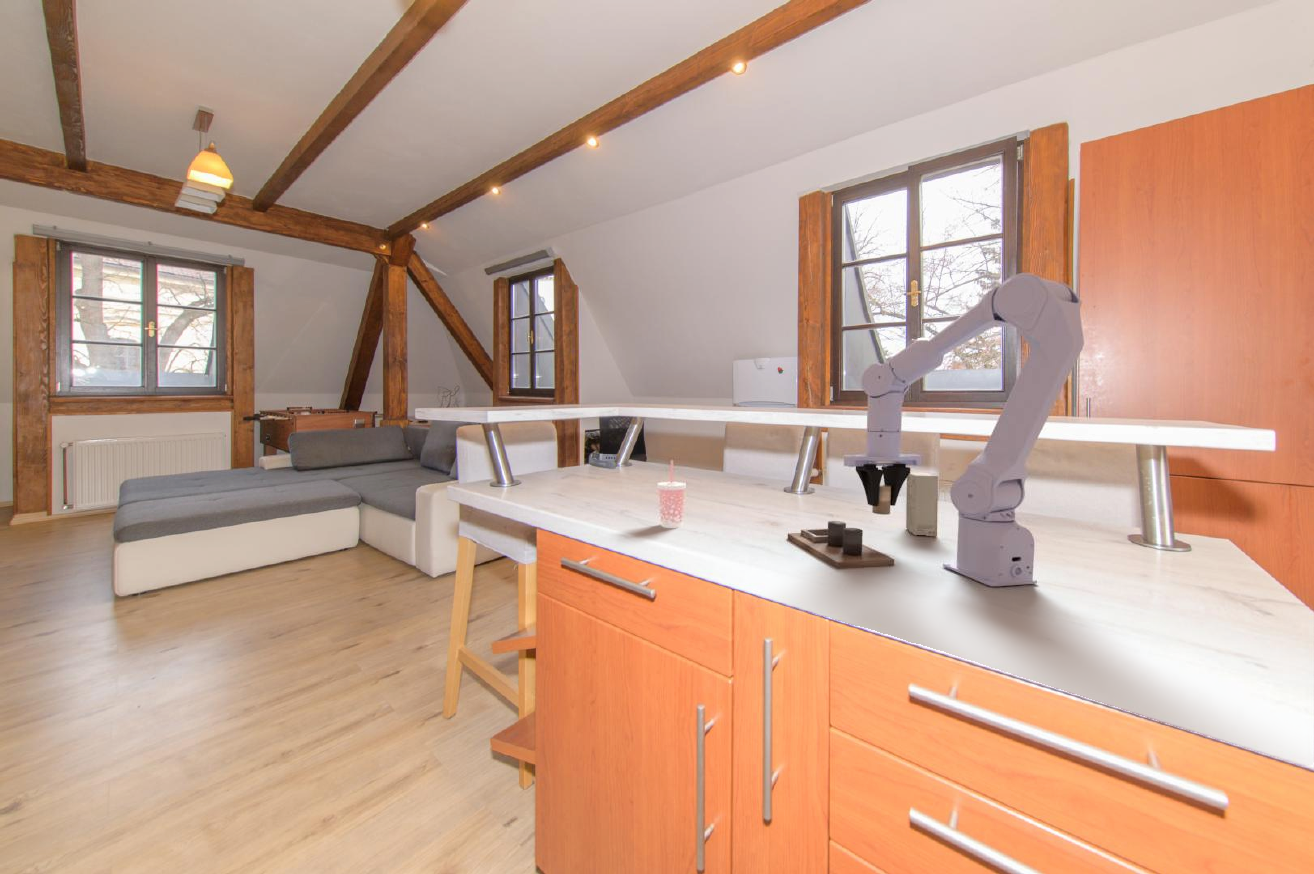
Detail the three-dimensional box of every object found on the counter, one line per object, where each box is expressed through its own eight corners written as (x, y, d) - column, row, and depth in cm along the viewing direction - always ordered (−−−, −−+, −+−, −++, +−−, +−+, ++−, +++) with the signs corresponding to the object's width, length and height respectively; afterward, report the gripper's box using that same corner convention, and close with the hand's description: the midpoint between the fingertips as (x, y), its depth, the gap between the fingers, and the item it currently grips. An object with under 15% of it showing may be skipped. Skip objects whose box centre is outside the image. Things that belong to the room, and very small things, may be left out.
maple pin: (893, 514, 91) (894, 487, 90) (878, 514, 90) (879, 487, 90) (883, 510, 94) (884, 484, 93) (868, 511, 93) (869, 484, 93)
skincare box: (937, 537, 98) (940, 476, 97) (913, 536, 99) (915, 475, 98) (927, 529, 104) (929, 472, 104) (904, 528, 105) (906, 471, 104)
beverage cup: (686, 529, 103) (686, 462, 103) (656, 528, 104) (657, 461, 103) (685, 522, 110) (685, 458, 109) (657, 521, 110) (657, 458, 109)
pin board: (894, 565, 81) (895, 534, 80) (837, 568, 79) (838, 537, 78) (834, 536, 98) (835, 511, 98) (787, 538, 96) (788, 513, 96)
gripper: (904, 430, 96) (902, 499, 97) (835, 430, 94) (833, 502, 94) (930, 432, 89) (928, 506, 90) (857, 432, 87) (855, 509, 87)
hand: (881, 504), depth 92 cm, fingers closed on maple pin, 3 cm apart
